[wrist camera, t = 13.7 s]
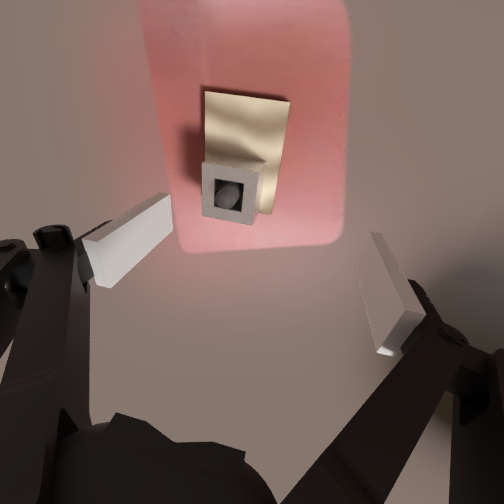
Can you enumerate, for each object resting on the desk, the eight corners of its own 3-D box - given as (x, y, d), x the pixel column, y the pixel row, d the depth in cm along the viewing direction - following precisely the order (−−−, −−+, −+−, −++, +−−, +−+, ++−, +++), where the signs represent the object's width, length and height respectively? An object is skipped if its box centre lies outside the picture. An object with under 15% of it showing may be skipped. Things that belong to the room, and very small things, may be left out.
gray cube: (217, 153, 41) (201, 162, 35) (266, 161, 40) (259, 172, 34) (215, 201, 45) (202, 215, 40) (259, 209, 44) (252, 225, 39)
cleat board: (208, 91, 37) (173, 88, 28) (290, 102, 36) (283, 102, 26) (207, 200, 47) (181, 224, 38) (272, 212, 46) (262, 241, 36)
